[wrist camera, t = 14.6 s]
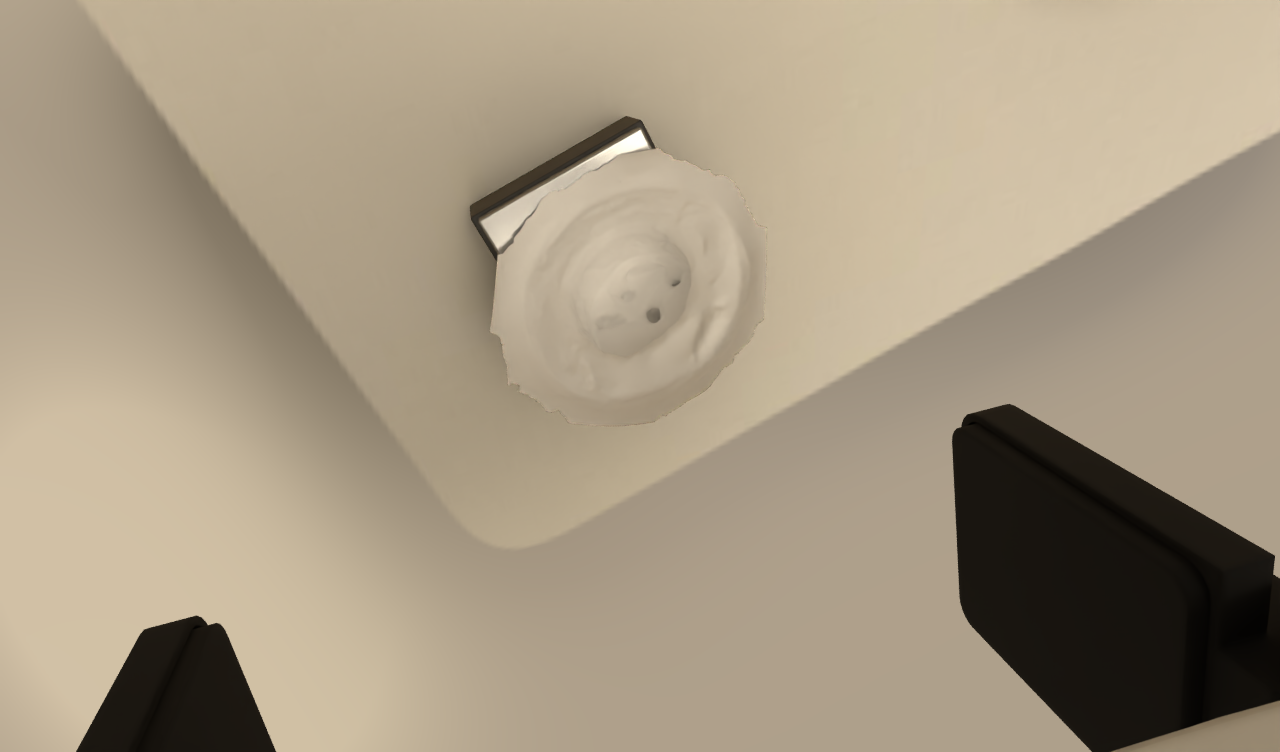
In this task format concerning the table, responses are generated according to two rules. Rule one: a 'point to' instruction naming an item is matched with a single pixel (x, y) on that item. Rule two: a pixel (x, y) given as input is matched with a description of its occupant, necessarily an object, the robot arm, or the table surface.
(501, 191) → the scale
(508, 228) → the scale pan
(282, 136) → the table surface
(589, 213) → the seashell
